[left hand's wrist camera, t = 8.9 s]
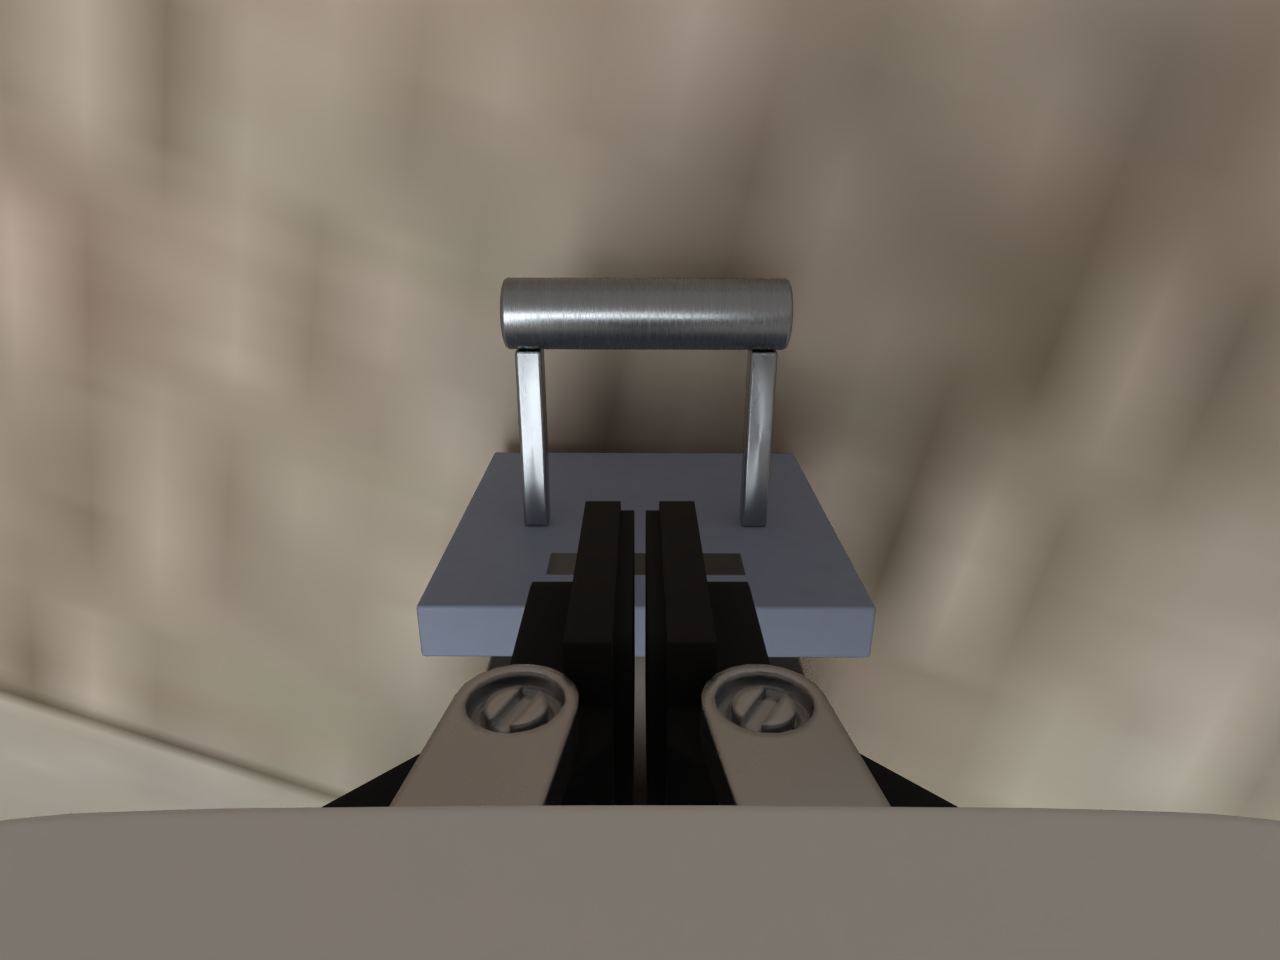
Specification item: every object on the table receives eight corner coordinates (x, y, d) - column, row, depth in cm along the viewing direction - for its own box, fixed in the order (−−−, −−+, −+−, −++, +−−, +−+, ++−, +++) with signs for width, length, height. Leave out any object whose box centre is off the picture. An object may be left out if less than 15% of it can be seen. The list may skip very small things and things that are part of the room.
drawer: (481, 253, 22) (381, 308, 14) (809, 255, 22) (914, 310, 14) (523, 882, 31) (478, 1159, 22) (760, 883, 31) (806, 1159, 22)
